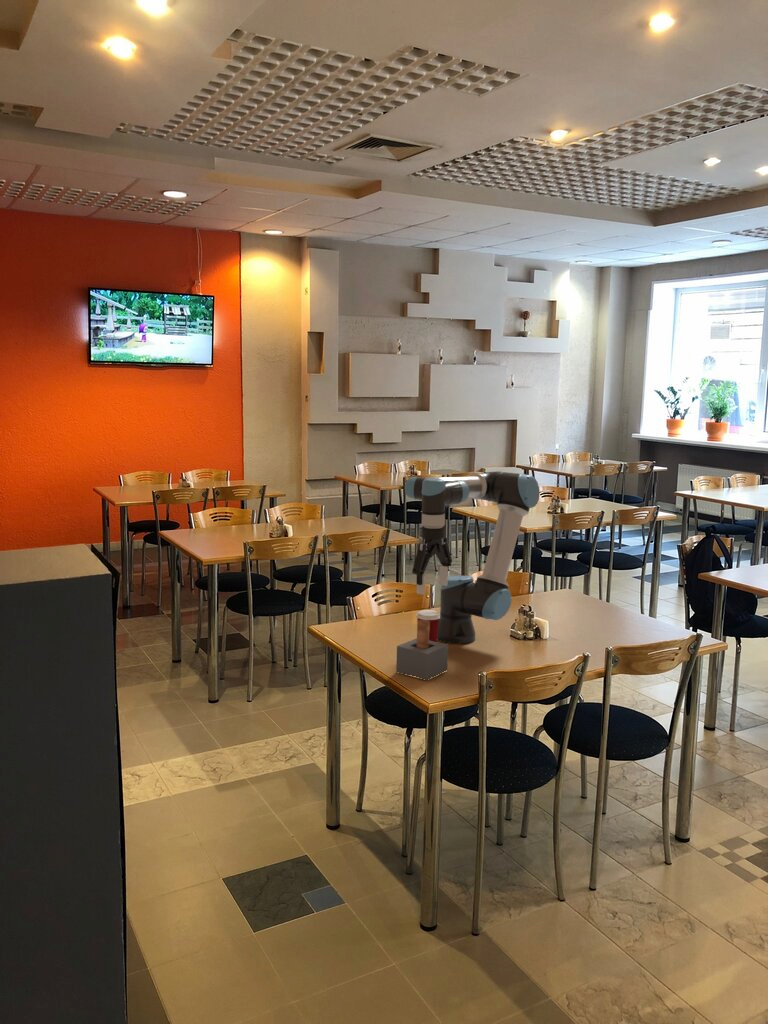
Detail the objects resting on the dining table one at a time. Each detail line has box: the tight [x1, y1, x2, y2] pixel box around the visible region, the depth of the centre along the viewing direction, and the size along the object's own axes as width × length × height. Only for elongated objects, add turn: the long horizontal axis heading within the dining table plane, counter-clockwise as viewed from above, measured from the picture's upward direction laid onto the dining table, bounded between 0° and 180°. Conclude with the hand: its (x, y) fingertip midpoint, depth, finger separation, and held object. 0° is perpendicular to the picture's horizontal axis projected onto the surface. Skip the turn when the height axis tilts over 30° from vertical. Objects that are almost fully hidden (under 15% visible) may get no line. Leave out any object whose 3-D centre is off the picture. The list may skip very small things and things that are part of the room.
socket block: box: [395, 637, 449, 681], centre depth 279 cm, size 12×12×9 cm
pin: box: [416, 620, 430, 650], centre depth 278 cm, size 4×4×14 cm
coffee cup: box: [415, 609, 440, 642], centre depth 297 cm, size 8×8×15 cm
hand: (432, 589), depth 282 cm, fingers open, 13 cm apart
